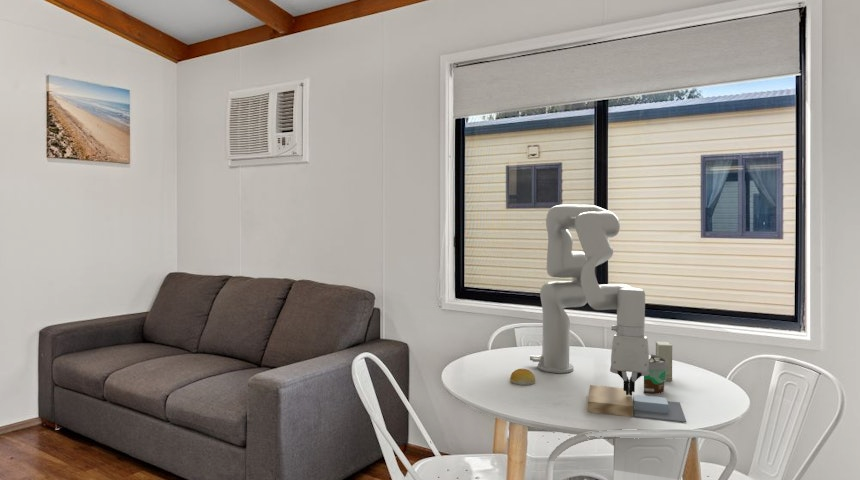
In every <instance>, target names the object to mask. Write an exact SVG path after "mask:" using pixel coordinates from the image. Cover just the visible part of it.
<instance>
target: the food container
mask: <svg viewBox="0 0 860 480" xmlns="http://www.w3.org/2000/svg"><path fill="white" fill-rule="evenodd" d="M666 368H668V362H667V360H666V359H665V358H664V357H661V356H657V355H656V354H650V357H649V369H648V370H649V375H647V376H643V393H644V394H646V395H647V394H649V395H657V394H659V395H660V394H663V393H664V391H665V382H666V381H665V373H666Z"/></svg>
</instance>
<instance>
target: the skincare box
mask: <svg viewBox="0 0 860 480" xmlns="http://www.w3.org/2000/svg"><path fill="white" fill-rule="evenodd" d="M655 355H657V356H661V357H664V358H665V359H666V360H667V362H668V368H666V373H665V382H672V381H673V344H672V343H670V341H658V340H656V341H655Z"/></svg>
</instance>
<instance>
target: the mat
mask: <svg viewBox="0 0 860 480" xmlns="http://www.w3.org/2000/svg"><path fill="white" fill-rule="evenodd" d="M667 402H668V413H660V412H651V411H642V410H634V409H633V414H634V415H633V416H634V418H637V419H638V418H640V419H647V420H648V419H649V420H657V421H666V422H674V423H675V422H677V423H683V422H686V423H687V419H686V415H685V414H684V411H683V408H682V404H681V402H680V401H679V402H677V401H669V400H667Z"/></svg>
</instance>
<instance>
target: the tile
mask: <svg viewBox="0 0 860 480" xmlns="http://www.w3.org/2000/svg"><path fill="white" fill-rule="evenodd" d="M632 401H633V411H634V410H642V411H651V412H660V413H668V402H667V401H668V399H667V397H661V396H652V395H641V394H632Z"/></svg>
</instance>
